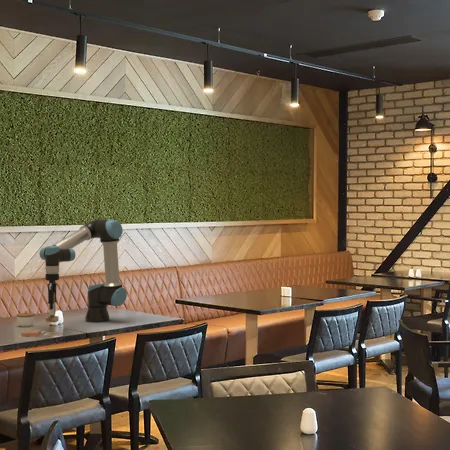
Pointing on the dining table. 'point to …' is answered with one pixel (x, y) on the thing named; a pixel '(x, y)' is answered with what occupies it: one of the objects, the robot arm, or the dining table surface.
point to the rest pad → (52, 333)
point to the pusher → (52, 317)
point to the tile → (31, 333)
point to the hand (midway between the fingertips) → (52, 314)
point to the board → (35, 336)
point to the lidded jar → (25, 319)
